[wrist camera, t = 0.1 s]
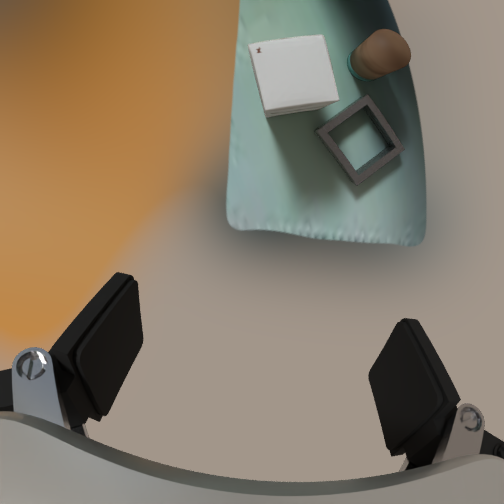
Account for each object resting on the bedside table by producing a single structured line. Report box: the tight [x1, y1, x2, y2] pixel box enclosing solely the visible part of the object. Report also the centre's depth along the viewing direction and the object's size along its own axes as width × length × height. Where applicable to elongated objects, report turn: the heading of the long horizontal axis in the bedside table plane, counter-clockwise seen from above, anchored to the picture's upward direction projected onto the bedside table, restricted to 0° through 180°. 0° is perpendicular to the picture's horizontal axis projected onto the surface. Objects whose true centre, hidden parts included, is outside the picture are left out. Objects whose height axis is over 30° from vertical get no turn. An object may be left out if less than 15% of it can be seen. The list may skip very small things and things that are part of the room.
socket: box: [314, 95, 405, 185], centre depth 33 cm, size 9×9×2 cm
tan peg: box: [347, 29, 411, 81], centre depth 25 cm, size 5×5×10 cm
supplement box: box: [248, 35, 339, 118], centre depth 26 cm, size 7×7×13 cm
